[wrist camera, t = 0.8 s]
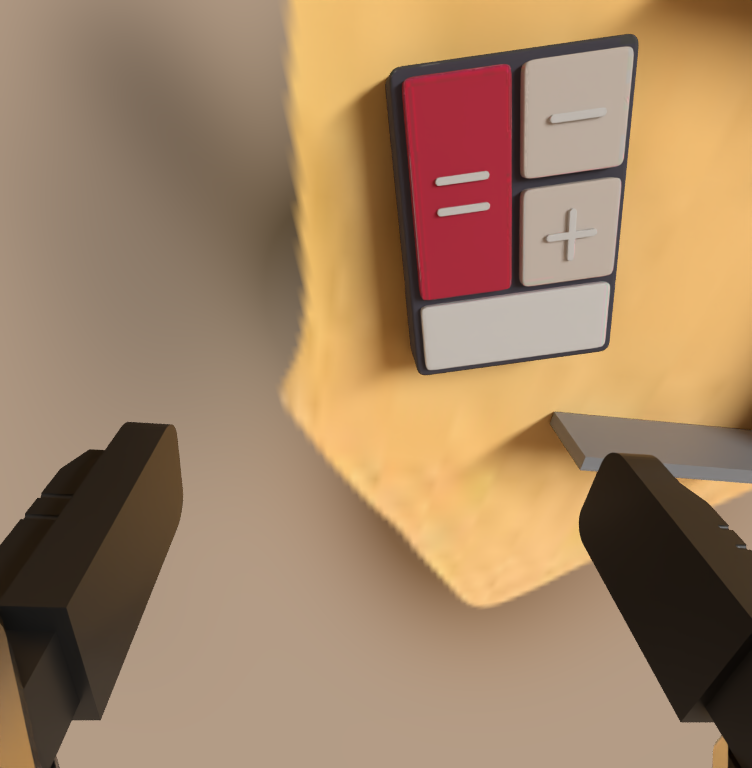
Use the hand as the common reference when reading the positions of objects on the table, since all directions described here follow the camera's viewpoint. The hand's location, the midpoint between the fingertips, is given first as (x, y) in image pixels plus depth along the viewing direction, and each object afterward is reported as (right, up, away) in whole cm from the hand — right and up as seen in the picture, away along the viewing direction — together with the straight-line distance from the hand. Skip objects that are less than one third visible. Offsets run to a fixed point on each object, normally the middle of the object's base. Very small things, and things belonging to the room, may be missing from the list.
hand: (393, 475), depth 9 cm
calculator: (+6, +11, +18) cm, 22 cm away
